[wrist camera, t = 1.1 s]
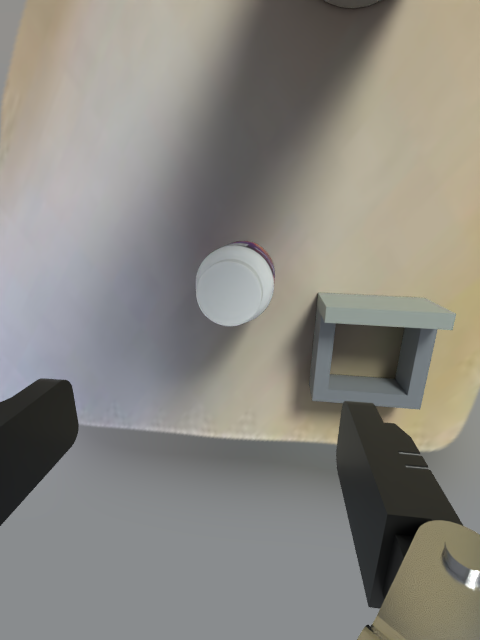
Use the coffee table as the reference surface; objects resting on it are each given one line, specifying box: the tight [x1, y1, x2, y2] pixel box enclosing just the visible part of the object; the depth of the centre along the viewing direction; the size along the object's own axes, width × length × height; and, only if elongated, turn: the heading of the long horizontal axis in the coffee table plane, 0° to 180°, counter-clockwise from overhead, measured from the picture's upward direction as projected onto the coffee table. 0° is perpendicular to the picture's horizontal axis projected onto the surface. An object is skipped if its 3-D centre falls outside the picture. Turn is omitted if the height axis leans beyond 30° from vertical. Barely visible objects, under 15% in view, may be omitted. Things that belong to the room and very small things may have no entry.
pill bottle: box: [195, 241, 275, 326], centre depth 24 cm, size 5×5×10 cm
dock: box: [309, 293, 456, 409], centre depth 27 cm, size 9×9×5 cm
